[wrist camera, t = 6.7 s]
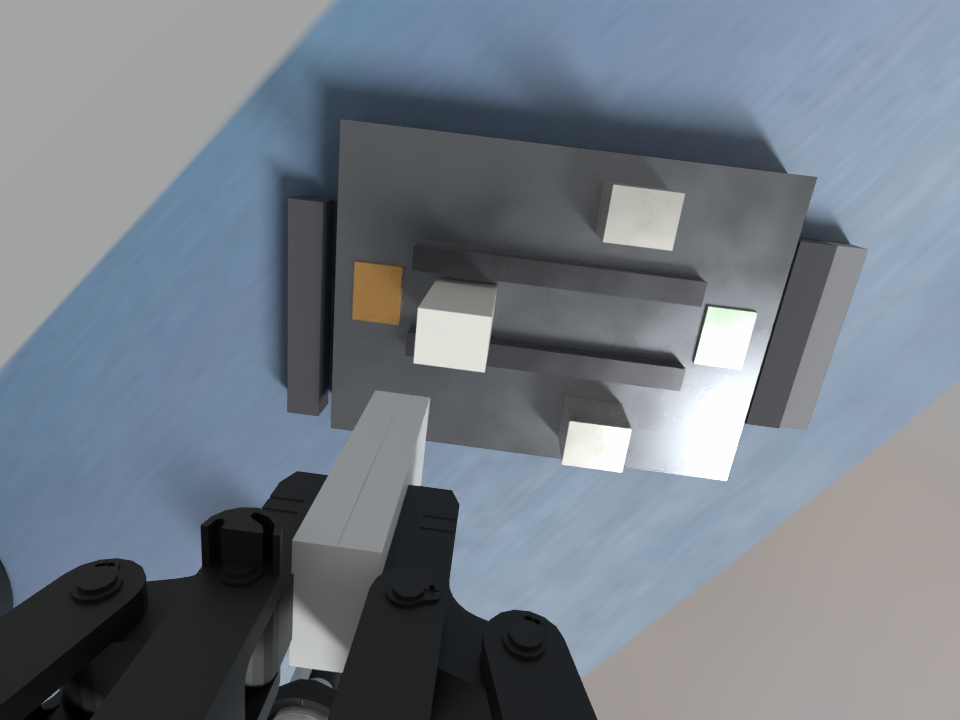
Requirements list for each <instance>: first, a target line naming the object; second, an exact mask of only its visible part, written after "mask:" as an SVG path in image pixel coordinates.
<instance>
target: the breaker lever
mask: <svg viewBox="0 0 960 720" xmlns="http://www.w3.org/2000/svg"><path fill="white" fill-rule="evenodd" d="M496 292H497V285H491V284H484V283H476V282H468V281H460V280H452V279H444V278H437V279H436V281H435V282H434V284H433V286H432V287H431V289H430V290H429V292H428V293H427V295H426V296H425V298H424V299H423V301H422V302H421V304H420V305H419V307H418V313H417V326H416V338H415V350H414V363H415V364H423V365H431V366H438V367H446V368H453V369H461V370H469V371H476V372H484V373H485V368H486V362H487V356H488V350H489V343H490V337H491V331H492V323H493V315H494V307H495V299H496Z"/></svg>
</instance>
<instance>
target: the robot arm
mask: <svg viewBox="0 0 960 720" xmlns="http://www.w3.org/2000/svg"><path fill="white" fill-rule="evenodd" d="M429 404H430V398H429V397H422V396H414V395H407V394H400V393H392V392H385V391H377V390H375V392H374V394H373V396H372V397H371V399H370V401H369V403H368V405H367V406H366V408H365V410H364V412H363V414H362V415H361V417H360V419H359V421H358V423H357V425H356V426H355V428H354V430H353V432H352V434H351V435H350V437H349V439H348V441H347V443H346V444H345V446H344V448H343V450H342V452H341V453H340V455H339V457H338V459H337V461H336V462H335V464H334V466H333V468H332V470H331V471H330V473H329V475H321V474H314V473H307V472H299V471H297V472H295V473H294V474H292V475H291V476H289V477H287V478H286V479H284V480H283V481H281V482H280V483H279V484H278V486H277V487H276V489H275V490H274V491H273V493H272V494H271V496H270V499H268V500H267V502H266V503H265V504H264V506H263V507H262V509H259V508H242V507H241V508H236V509H231V510H225V511H223V512H221V513H218V514H216V515H214V516H212V517H210V518H209V519H208V520H206V521H205V522H204V523H203V524H202V525H201V545H202V567H201V569H200V570H199V571H198V573H197V574H196V575H194V576H190V577H184V578H178V579H168V580H158V581H148V582H146V575H145V573H144V570H143V568H142V567H141V566H140V565H138V564H137V563H135V562H133V561H130V560H124V559H118V558H115V559H104V560H97V561H94V562H91V563H87V564H84V565H81V566H79V567H77V568H75V569H73V570H71V571H69V572H67V573H65V574H64V575H62V576H61V577H59V578H58V579H56V580H55V581H53V582H52V583H50V584H49V585H48V586H46V587H45V588H43V589H42V590H40V591H39V592H37V593H36V594H34V595H33V596H31V597H30V598H28V599H27V600H25V601H24V602H22V603H21V604H19V605H18V606H16V607H15V608H14V609H13V598H12V592H11V588H10V584H9V581H8V578H7V576H6V574H5V572H4V570H3V568H2V566H1V564H0V720H266V719H267V717H268V715H269V712H270V710H271V708H272V705H273V703H274V700H275V698H276V696H277V693H278V689H279V684H280V665H281V663H282V661H283V659H284V656H285V654H286V652H287V650H288V647H289V645H290V650H289V666H294V667H302V668H309V669H317V670H324V671H332V672H339V673H342V676H341V679H340V682H339V685H338V689H337V692H336V695H335V698H334V701H333V704H332V707H331V710H330V714H329V717H328V720H597V718H596V715H595V713H594V710H593V708H592V705H591V703H590V701H589V698H588V696H587V693H586V691H585V688H584V686H583V683H582V681H581V679H580V676H579V674H578V671H577V669H576V666H575V664H574V662H573V659H572V657H571V654H570V652H569V649H568V647H567V644H566V642H565V640H564V638H563V636H562V635H561V633H560V632H559V630H558V629H557V627H556V626H555V625H553V624H552V623H551V622H550V621H548V620H547V619H546V618H544V617H542V616H540V615H537V614H535V613H532V612H530V611H521V610H511V611H507V612H502V613H500V614H498V615H497V616H495V617H494V618H492V619H491V620H490V621H487V620H484V619H482V618H479V617H477V616H475V615H473V614H471V613H470V612H468V611H466V610H465V609H464V608H463V607H461V606H460V605H459V604H458V603H457V601H456V600H455V599H454V597H453V596H452V593H451V591H450V587H449V578H450V571H451V563H452V556H453V548H454V541H455V533H456V526H457V518H458V511H459V503H458V501H457V499H456V497H455V495H454V493H453V491H452V490H445V489H438V488H430V487H423V486H421V478H422V469H423V460H424V451H425V441H426V432H427V423H428V414H429ZM58 689H60V691H59V692H58V693H57V694H56V695H55V696H53V697H52V698H51V699H49V700H47V701H46V702H44V701H45V700H46V699H47V698H49V697H50V696H51V695H52V694H53V693H54V692H56V691H57V690H58ZM43 702H44V703H43ZM42 703H43V704H42Z"/></svg>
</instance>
